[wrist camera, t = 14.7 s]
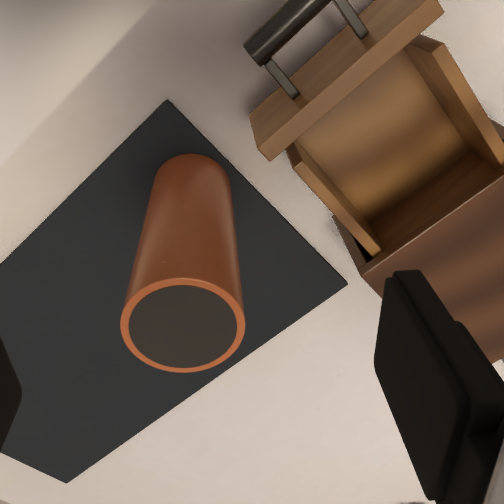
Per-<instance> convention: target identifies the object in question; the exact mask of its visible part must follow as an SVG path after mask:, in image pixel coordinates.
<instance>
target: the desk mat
mask: <svg viewBox="0 0 504 504" xmlns="http://www.w3.org/2000/svg"><path fill="white" fill-rule="evenodd" d="M191 153H193V154H200V155H204V156H207V157H209V158H211V159H213V160H214V161H216V162H217V163H218V164H220V165H221V166H222V168H223V169H224V170H225V171H226V173H227V175H228V177H229V179H230V183H231V189H232V199H233V209H234V218H235V228H236V238H237V247H238V257H239V267H240V276H241V286H242V296H243V305H244V315H245V332H244V336H243V339H242V341H241V343H240V345H239V346H238V348H237V349H236V351H235V352H234V353H233V354H232V355H231V356H230V357H228V358H227V359H226V360H224V361H223V362H221V363H220V364H218V365H216V366H214V367H211V368H208V369H205V370H201V371H196V372H186V373H182V372H170V371H165V370H161V369H158V368H155V367H153V366H150V365H148V364H146V363H145V362H143V361H141V360H140V359H139V358H137V357H136V356H135V355H134V354H133V353H132V352H131V351H130V349H129V348H128V347H127V345H126V344H125V342H124V340H123V337H122V334H121V329H120V319H121V314H122V310H123V306H124V301H125V297H126V293H127V289H128V285H129V281H130V276H131V272H132V268H133V264H134V260H135V256H136V251H137V247H138V243H139V239H140V235H141V231H142V227H143V222H144V218H145V214H146V210H147V206H148V202H149V197H150V193H151V189H152V185H153V181H154V178H155V175H156V173H157V171H158V170H159V168H160V167H161V166H162V165H163V164H164V163H165V162H166V161H168V160H169V159H171V158H173V157H175V156H178V155H181V154H191ZM346 285H348V283H347V282H346V281H345V279H344V278H343V277H342V276H341V275H340V274H339V273H338V272H337V271H336V270H335V269H334V268H333V267H332V266H331V265H330V264H329V263H328V262H327V261H326V260H325V259H324V258H323V257H322V256H321V255H320V254H319V253H318V252H317V251H316V250H315V249H314V248H313V247H312V246H311V245H310V244H309V243H308V242H307V241H306V240H305V239H304V238H303V237H302V236H301V235H300V234H299V233H298V232H297V231H296V230H295V229H294V228H293V227H292V226H291V225H290V223H289V222H288V221H287V220H286V219H285V218H284V217H283V216H282V215H281V214H280V213H279V212H278V211H277V210H276V209H275V208H274V207H273V206H272V205H271V204H270V203H269V202H268V201H267V200H266V199H265V198H264V197H263V196H262V195H261V194H260V193H259V192H258V191H257V190H256V189H255V188H254V187H253V186H252V185H251V184H250V183H249V182H248V181H247V180H246V179H245V178H244V177H243V176H242V175H241V174H240V173H239V172H238V171H237V170H236V169H235V168H234V166H233V165H232V164H231V163H230V162H229V161H228V160H227V159H226V158H225V157H224V156H223V155H222V154H221V153H220V152H219V151H218V150H217V149H216V148H215V147H214V146H213V145H212V144H211V143H210V142H209V141H208V140H207V139H206V138H205V137H204V136H203V135H202V134H201V133H200V132H199V131H198V130H197V129H196V128H195V127H194V126H193V125H192V124H191V123H190V122H189V121H188V120H187V119H186V118H185V117H184V116H183V115H182V114H181V113H180V112H179V111H178V109H177V108H176V107H175V106H174V105H173V104H172V103H171V102H170V101H169V100H168V99H167V100H166V101H165V102H164V103H163V104H162V105H161V106H160V107H159V108H158V109H157V110H156V111H155V112H154V113H153V114H152V115H151V116H150V117H149V118H148V119H147V120H146V121H145V122H143V123H142V124H141V125H140V126H139V127H138V128H137V129H136V130H135V131H134V132H133V133H132V134H131V135H130V136H129V137H128V138H127V139H126V140H125V141H124V142H123V143H122V144H121V145H120V146H119V147H118V148H117V149H116V150H115V151H114V152H113V153H112V154H111V155H110V156H109V157H108V158H107V159H106V160H105V161H104V162H103V163H102V164H101V165H100V166H99V167H98V168H97V169H96V170H95V171H94V172H93V173H92V174H91V175H90V176H89V177H88V178H87V179H86V180H85V181H84V182H83V183H82V184H81V185H80V186H79V187H78V188H77V189H76V190H75V191H74V192H73V193H72V194H71V195H70V196H69V197H68V198H67V199H66V200H65V201H64V202H63V203H62V204H61V205H60V206H59V207H58V208H57V209H56V210H55V211H54V212H53V213H52V214H51V215H50V216H49V217H48V218H47V219H46V220H45V221H44V222H43V223H42V224H41V225H40V226H39V227H38V228H37V229H36V230H35V231H34V232H33V233H32V234H31V235H30V236H29V237H28V238H27V239H26V240H25V241H24V242H23V243H22V244H21V245H20V246H19V247H18V248H17V249H16V250H15V251H14V252H13V253H12V254H11V255H9V256H8V257H7V258H6V259H5V260H4V261H3V262H2V263H1V264H0V337H1V339H2V342H3V344H4V347H5V349H6V351H7V354H8V356H9V359H10V361H11V363H12V366H13V368H14V370H15V373H16V375H17V378H18V380H19V382H20V385H21V388H22V400H21V403H20V406H19V408H18V410H17V413H16V415H15V418H14V420H13V422H12V425H11V427H10V430H9V432H8V434H7V437H6V439H5V442H4V444H3V446H2V449H1V451H0V452H1V453H3V454H5V455H7V456H9V457H11V458H13V459H15V460H18V461H20V462H22V463H24V464H26V465H28V466H30V467H32V468H35V469H37V470H39V471H41V472H43V473H45V474H47V475H49V476H51V477H54V478H56V479H58V480H60V481H62V482H64V483H66V484H67V483H68V482H69V481H71V480H72V479H74V478H75V477H77V476H78V475H79V474H81V473H82V472H84V471H85V470H86V469H88V468H89V467H91V466H92V465H93V464H95V463H96V462H98V461H99V460H101V459H102V458H103V457H105V456H106V455H108V454H109V453H110V452H112V451H113V450H115V449H116V448H118V447H119V446H120V445H122V444H123V443H125V442H126V441H127V440H129V439H130V438H132V437H133V436H134V435H136V434H137V433H139V432H140V431H142V430H143V429H144V428H146V427H147V426H149V425H150V424H151V423H153V422H154V421H156V420H157V419H159V418H160V417H161V416H163V415H164V414H166V413H167V412H168V411H170V410H171V409H173V408H174V407H175V406H177V405H178V404H180V403H181V402H183V401H184V400H185V399H187V398H188V397H190V396H191V395H192V394H194V393H195V392H197V391H198V390H199V389H201V388H202V387H204V386H205V385H207V384H208V383H209V382H211V381H212V380H214V379H215V378H216V377H218V376H219V375H221V374H222V373H224V372H225V371H226V370H228V369H229V368H231V367H232V366H233V365H235V364H236V363H238V362H239V361H240V360H242V359H243V358H245V357H246V356H248V355H249V354H250V353H252V352H253V351H255V350H256V349H257V348H259V347H260V346H262V345H263V344H264V343H266V342H267V341H269V340H270V339H272V338H273V337H274V336H276V335H277V334H279V333H280V332H281V331H283V330H284V329H286V328H287V327H289V326H290V325H291V324H293V323H294V322H296V321H297V320H298V319H300V318H301V317H303V316H304V315H305V314H307V313H308V312H310V311H311V310H313V309H314V308H315V307H317V306H318V305H320V304H321V303H322V302H324V301H325V300H327V299H328V298H330V297H331V296H332V295H334V294H335V293H337V292H338V291H339V290H341V289H342V288H344V287H345V286H346Z"/></svg>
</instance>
